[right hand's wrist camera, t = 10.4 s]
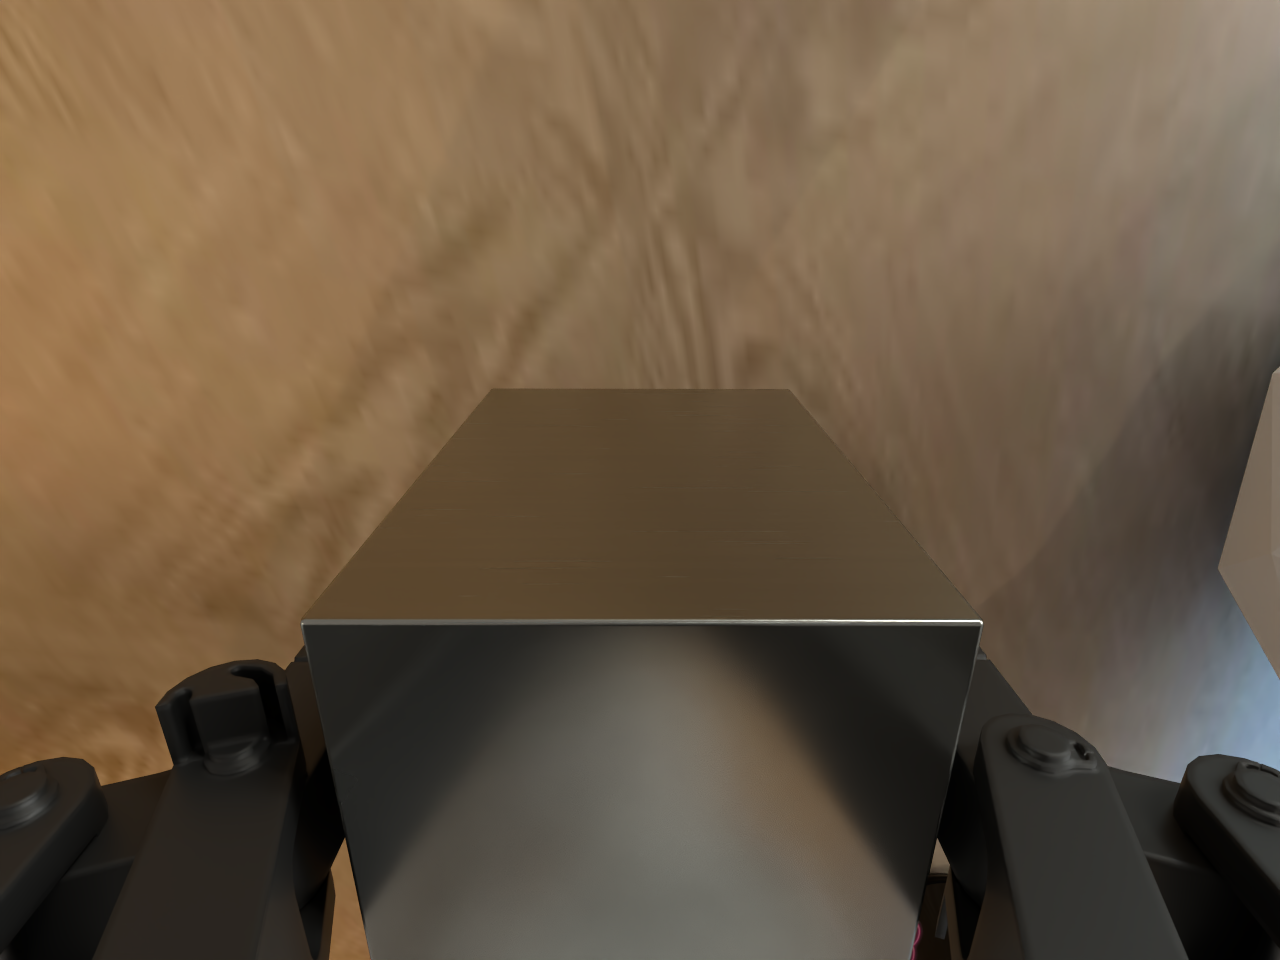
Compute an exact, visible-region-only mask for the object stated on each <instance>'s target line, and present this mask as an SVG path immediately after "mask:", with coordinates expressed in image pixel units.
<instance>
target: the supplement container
mask: <svg viewBox="0 0 1280 960" xmlns="http://www.w3.org/2000/svg"><path fill="white" fill-rule="evenodd" d="M947 877H948V874H929V877H928V881H927V886H926V891H925V895H924V900H923V904H922V909H921V913H920V918H919V923H918V927H917V932H916V936H915V941H914V945H913V950H912V955H911V959H910V960H951V951H950V941H949V932H948V926H947V930H946V935H945V939H941V938H937V937H935V933H936V926H937V920H938V916H939V912H940V907H941V903H942V899H943V894H944V890H945V885H946V881H947Z"/></svg>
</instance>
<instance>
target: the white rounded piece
mask: <svg viewBox="0 0 1280 960" xmlns="http://www.w3.org/2000/svg"><path fill="white" fill-rule="evenodd" d="M1218 570H1219V572H1220V574H1221V576H1222V577H1223V579H1224V581H1225V583H1226V585H1227V586H1228V588H1229V590H1230V592H1231V594H1232V595H1233V597H1234V599H1235V601H1236V602H1237V604H1238V606H1239V608H1240V610H1241V611H1242V613H1243V615H1244V617H1245V619H1246V620H1247V622H1248V624H1249V626H1250V627H1251V629H1252V631H1253V633H1254V635H1255V636H1256V638H1257V640H1258V642H1259V644H1260V645H1261V647H1262V649H1263V651H1264V652H1265V654H1266V656H1267V658H1268V660H1269V661H1270V663H1271V665H1272V667H1273V668H1274V670H1275V672H1276V674H1277V676H1278V677H1279V679H1280V367H1279V368H1278V369H1277V370H1276V371H1274V372H1273V374H1272V377H1271V381H1270V384H1269V388H1268V392H1267V395H1266V399H1265V402H1264V406H1263V409H1262V413H1261V416H1260V420H1259V424H1258V427H1257V431H1256V434H1255V438H1254V441H1253V445H1252V448H1251V452H1250V456H1249V459H1248V463H1247V466H1246V470H1245V473H1244V477H1243V480H1242V484H1241V488H1240V491H1239V495H1238V498H1237V502H1236V505H1235V509H1234V512H1233V516H1232V520H1231V523H1230V527H1229V530H1228V534H1227V537H1226V541H1225V544H1224V548H1223V552H1222V555H1221V559H1220V562H1219V566H1218Z"/></svg>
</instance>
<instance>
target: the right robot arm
mask: <svg viewBox="0 0 1280 960" xmlns="http://www.w3.org/2000/svg"><path fill="white" fill-rule="evenodd" d="M155 708H156V711H157V715H158V718H159V721H160V724H161V727H162V730H163V733H164V736H165V739H166V742H167V746H168V749H169V752H170V755H171V758H172V761H173V764H174V766H173V768H172V769H171V770H168V771H164V772H161V773H157V774H153V775H148V776H144V777H139V778H135V779H130V780H126V781H122V782H117V783H113V784H108V785H104V786H101V785H100V782H99V780H98V777H97V774H96V772H95V769H94V767H93V766H91V765H90V764H89V763H87V762H86V761H85V760H83V759H77V758H68V757H60V758H54V759H48V760H42V761H37V762H34V763H31V764H28V765H24V766H22V767H18V768H16V769H13V770H11V771H8V772H6V773H4V774H3V775H1V776H0V960H329V953H330V943H331V934H332V924H333V914H334V905H335V889H334V882H333V877H332V872H331V866H332V864H333V862H334V860H335V857H336V855H337V853H338V851H339V849H340V847H341V845H342V843H343V840H344V838H345V834H344V829H343V824H342V820H341V815H340V810H339V805H338V801H337V796H336V791H335V786H334V782H333V777H332V772H331V767H330V763H329V758H328V753H327V748H326V744H325V739H324V734H323V729H322V724H321V720H320V715H319V710H318V705H317V701H316V696H315V691H314V686H313V682H312V677H311V672H310V667H309V663H308V658H307V653H306V648H305V645H304V646H303V648H302V649H301V650H300V651H299V653H298V654H297V655H296V657H295V661H294V662H291V663H290V664H289V666H288V667H287V668H286V670H285V671H284V670H283V669H282V668H280V667H279V666H278V665H277V664H276V663H273V662H268V661H263V660H258V659H256V660H240V661H233V662H229V663H225V664H221V665H217V666H213V667H210V668H208V669H206V670H203V671H201V672H199V673H197V674H194V675H192V676H190V677H188V678H186V679H185V680H183V681H182V682H180V683H179V684H178V685H176V686H175V687H173V688H172V689H170V690H169V691H168V692H167V693H166V694H165V695H164V696H163V698H162V699H161V700H160V701H159V703H158V704H157V705H156V706H155ZM937 838H938V840H939V842H940V844H941V847H942V849H943V851H944V853H945V855H946V857H947V859H948V861H949V864H950V868H949V872H948V877H947V881H946V885H945V890H944V894H943V899H942V903H941V907H940V912H939V916H938V920H937V926H936V933H935V937H937V938H941V939H945V935H946V930H947V926H948V932H949V941H950V951H951V960H1280V772H1279V771H1278V770H1276V769H1273V768H1271V767H1268V766H1266V765H1263V764H1259V763H1258V762H1254V761H1251V760H1248V759H1245V758H1239V757H1233V756H1227V755H1221V754H1215V755H1206V756H1198V757H1197V758H1196V759H1195V760H1193V761H1192V762H1191V763H1189V764H1188V765H1187V768H1186V771H1185V773H1184V776H1183V779H1182V781H1181V783H1176V782H1172V781H1167V780H1163V779H1159V778H1154V777H1150V776H1145V775H1141V774H1136V773H1132V772H1127V771H1123V770H1119V769H1116V768H1112V767H1109V766H1107V764H1106V763H1105V761H1104V760H1103V759H1102V757H1101V756H1100V754H1099V753H1098V751H1097V750H1096V748H1095V747H1093V746H1092V745H1091V744H1090V743H1088V742H1087V741H1086V740H1085V739H1083V738H1082V737H1081V736H1080V735H1078V734H1077V733H1076V732H1074V731H1072V730H1070V729H1068V728H1066V727H1064V726H1062V725H1060V724H1058V723H1056V722H1054V721H1051V720H1047V719H1044V718H1040V717H1037V716H1033V715H1032V714H1031V712H1030V711H1029V710H1028V708H1027V707H1026V706H1025V705H1024V703H1023V702H1022V701H1021V699H1020V698H1019V697H1018V696H1017V694H1016V693H1015V692H1014V690H1013V689H1012V688H1011V687H1010V685H1009V684H1008V683H1007V681H1006V680H1005V679H1004V677H1003V676H1002V675H1001V674H1000V672H999V671H998V670H997V668H996V667H995V666H994V665H993V663H992V662H991V661H990V660H987V658H986V654H985V653H984V652H983V650H982V649H981V648H980V647H979V648H978V653H977V658H976V662H975V667H974V671H973V676H972V680H971V685H970V690H969V694H968V699H967V703H966V708H965V712H964V717H963V721H962V726H961V731H960V735H959V740H958V744H957V749H956V753H955V758H954V763H953V767H952V772H951V776H950V781H949V785H948V790H947V795H946V799H945V804H944V808H943V813H942V817H941V822H940V827H939V831H938V836H937Z"/></svg>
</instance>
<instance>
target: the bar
mask: <svg viewBox="0 0 1280 960" xmlns="http://www.w3.org/2000/svg"><path fill="white" fill-rule="evenodd" d="M301 629H302V634H303V639H304V644H305V648H306V653H307V658H308V663H309V667H310V672H311V677H312V682H313V686H314V691H315V696H316V701H317V705H318V710H319V715H320V720H321V724H322V729H323V734H324V739H325V744H326V748H327V753H328V758H329V763H330V767H331V772H332V777H333V782H334V786H335V791H336V796H337V801H338V805H339V810H340V815H341V820H342V824H343V829H344V834H345V839H346V843H347V848H348V853H349V858H350V863H351V867H352V872H353V877H354V882H355V886H356V891H357V896H358V901H359V905H360V910H361V915H362V920H363V924H364V929H365V934H366V939H367V943H368V948H369V953H370V958H371V960H910V959H911V955H912V950H913V945H914V941H915V936H916V932H917V927H918V923H919V918H920V913H921V909H922V904H923V900H924V895H925V891H926V886H927V881H928V877H929V872H930V868H931V863H932V859H933V854H934V849H935V845H936V840H937V836H938V831H939V827H940V822H941V817H942V813H943V808H944V804H945V799H946V795H947V790H948V785H949V781H950V776H951V772H952V767H953V763H954V758H955V753H956V749H957V744H958V740H959V735H960V731H961V726H962V721H963V717H964V712H965V708H966V703H967V699H968V694H969V690H970V685H971V680H972V676H973V671H974V667H975V662H976V658H977V653H978V648H979V644H980V639H981V635H982V630H983V621H982V619H981V618H980V616H979V615H978V614H977V613H976V612H975V610H974V609H973V608H972V607H971V606H970V605H969V603H968V602H967V601H966V600H965V599H964V597H963V596H962V595H961V594H960V593H959V591H958V590H957V589H956V588H955V587H954V585H953V584H952V583H951V582H950V581H949V579H948V578H947V577H946V576H945V575H944V573H943V572H942V571H941V570H940V569H939V568H938V566H937V565H936V564H935V563H934V562H933V560H932V559H931V558H930V557H929V556H928V554H927V553H926V552H925V551H924V550H923V548H922V547H921V546H920V545H919V544H918V542H917V541H916V540H915V539H914V538H913V536H912V535H911V534H910V533H909V532H908V531H907V529H906V528H905V527H904V526H903V525H902V523H901V522H900V521H899V520H898V519H897V517H896V516H895V515H894V514H893V513H892V511H891V510H890V509H889V508H888V507H887V505H886V504H885V503H884V502H883V501H882V500H881V498H880V497H879V496H878V495H877V494H876V492H875V491H874V490H873V489H872V488H871V486H870V485H869V484H868V483H867V482H866V480H865V479H864V478H863V477H862V476H861V474H860V473H859V472H858V471H857V470H856V468H855V467H854V466H853V465H852V464H851V463H850V461H849V460H848V459H847V458H846V457H845V455H844V454H843V453H842V452H841V451H840V449H839V448H838V447H837V446H836V445H835V443H834V442H833V441H832V440H831V439H830V437H829V436H828V435H827V434H826V433H825V432H824V430H823V429H822V428H821V427H820V426H819V424H818V423H817V422H816V421H815V420H814V418H813V417H812V416H811V415H810V414H809V412H808V411H807V410H806V409H805V408H804V406H803V405H802V404H801V403H800V402H799V400H798V399H797V398H796V397H795V396H794V395H793V393H792V392H791V391H790V390H788V389H491V390H490V392H489V393H488V394H487V395H486V396H485V398H484V399H483V400H482V401H481V403H480V404H479V405H478V406H477V407H476V409H475V410H474V411H473V412H472V413H471V415H470V416H469V417H468V418H467V419H466V421H465V422H464V423H463V424H462V425H461V427H460V428H459V429H458V430H457V432H456V433H455V434H454V435H453V436H452V438H451V439H450V440H449V441H448V442H447V444H446V445H445V446H444V447H443V448H442V450H441V451H440V452H439V453H438V454H437V456H436V457H435V458H434V459H433V461H432V462H431V463H430V464H429V465H428V467H427V468H426V469H425V470H424V471H423V473H422V474H421V475H420V476H419V477H418V479H417V480H416V481H415V482H414V483H413V485H412V486H411V487H410V488H409V490H408V491H407V492H406V493H405V494H404V496H403V497H402V498H401V499H400V500H399V502H398V503H397V504H396V505H395V506H394V508H393V509H392V510H391V511H390V512H389V514H388V515H387V516H386V517H385V519H384V520H383V521H382V522H381V523H380V525H379V526H378V527H377V528H376V529H375V531H374V532H373V533H372V534H371V535H370V537H369V538H368V539H367V540H366V541H365V543H364V544H363V545H362V546H361V548H360V549H359V550H358V551H357V552H356V554H355V555H354V556H353V557H352V558H351V560H350V561H349V562H348V563H347V564H346V566H345V567H344V568H343V569H342V570H341V572H340V573H339V574H338V575H337V577H336V578H335V579H334V580H333V581H332V583H331V584H330V585H329V586H328V587H327V589H326V590H325V591H324V592H323V593H322V595H321V596H320V597H319V598H318V599H317V601H316V602H315V603H314V604H313V606H312V607H311V608H310V609H309V610H308V612H307V613H306V614H305V615H304V616H303V618H302V619H301Z"/></svg>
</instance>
